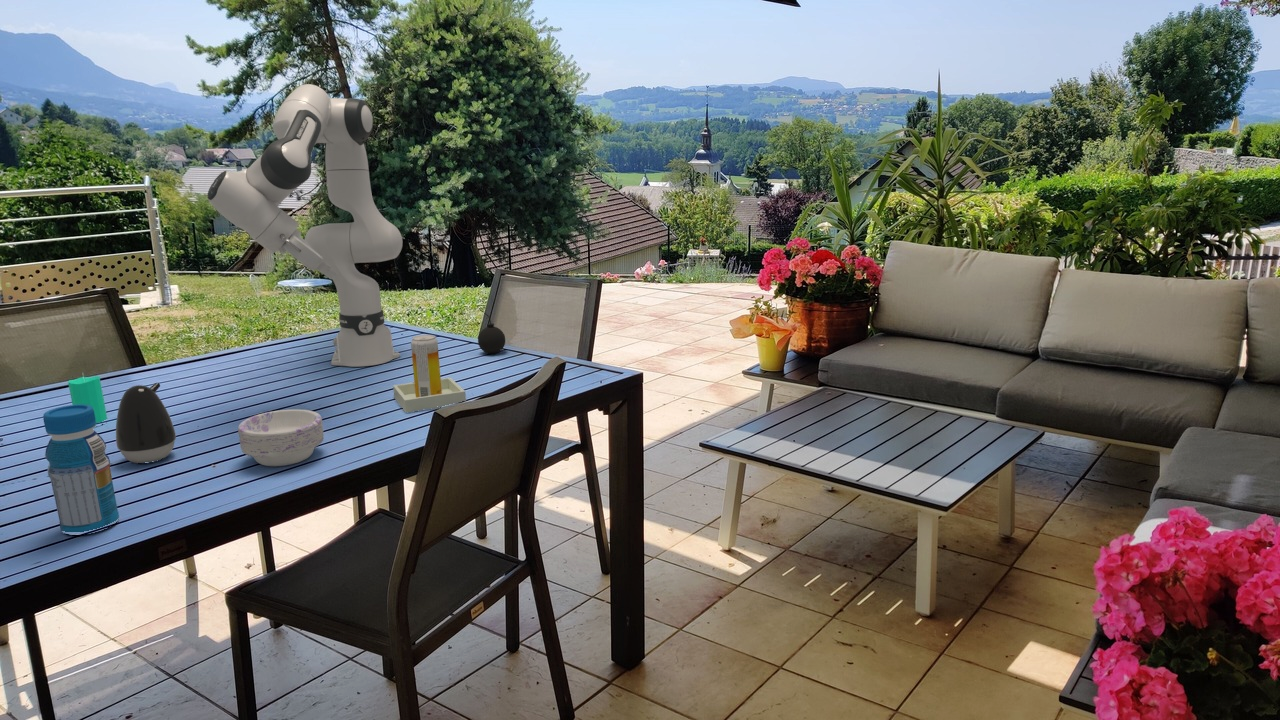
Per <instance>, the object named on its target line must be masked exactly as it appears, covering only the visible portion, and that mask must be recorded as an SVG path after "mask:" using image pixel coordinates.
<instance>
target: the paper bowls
mask: <svg viewBox="0 0 1280 720" xmlns="http://www.w3.org/2000/svg"><path fill="white" fill-rule="evenodd" d="M237 430H238V431H237V432H238V433H237V434H238V437H239V444H240V450H241V453H243V454H245V455H247V456H249V457H253V459H254V460H255V461H256V462H257V463H258V464H260V465H262V466H265V467H284V466H290V465H295V464H298V463H300V462H303V461H305V460H307V459H309V457H311V456H312V455H313V453H314V450H315V448H316V447H318V446H319V445H320V444H322V443H323V441H324V427H323V418H322V416H321V414H320V413H319V412H316V411H313V410H309V409H282V410H280V409H279V410H274V411H268V412H263V413H260V414H255V415H253V416H250V417H248V418H246V419H244V420H243V421H241V422H240V423H239V425H238V428H237Z"/></svg>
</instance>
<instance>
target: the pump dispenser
mask: <svg viewBox="0 0 1280 720" xmlns="http://www.w3.org/2000/svg"><path fill="white" fill-rule="evenodd" d="M160 387H161V384H160V383H159V382H155V383H154V384H152V385H151V386H150V387H148V386H146V385H143V384H141V385H140V384H138V385H137V384H136V385H133V386H131V387H129V388H127V389H126V390H125V392H124V393H123V395H122V397H121V399H120V402H119V405H118V408H117V413H116V414H117V415H116V423H115V444H116V447H117V449H118V450H119V451H120V453H121V455H122V456H123V457H124V458H125V460H127V461H129V462H131V463H134V464H138V463H145V462H152V461H157V460H159V461H161V460H160V459H162V458H163V459H165V458H166V457H168V456H169V455H170V454H171V453H172V450H173V449H174V447H175V440H176V439H177V435H176V430H175V426H174V425H173V421H172V418H171V416H170V414H169V412H168V410H167V407H166V406H165V404H164V403H163V401H162V399H161V398H160V397H159V396H158V394H157V393H156V392H157V391H158V389H159V388H160ZM163 459H162V460H163ZM157 462H158V461H157Z"/></svg>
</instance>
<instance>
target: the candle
mask: <svg viewBox="0 0 1280 720" xmlns="http://www.w3.org/2000/svg"><path fill="white" fill-rule="evenodd" d="M67 384H68V388H69V393H70V398H71V403H72V404H71V405H80V404H83V405H90V406H92V407H93V410H94V414H95V419H96V423H99V422H102V421H104V420H106V419H108V415H107V408H106V404H105V399H104V394H103V393H104V392H103V389H102V388H103V387H102V383H101V377H100V376H97V375H95V376H91V377H87V376H84V372H82V377H78V378H75V379H69V380H68V383H67Z"/></svg>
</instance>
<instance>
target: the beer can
mask: <svg viewBox="0 0 1280 720" xmlns="http://www.w3.org/2000/svg"><path fill="white" fill-rule="evenodd" d="M438 343H439V341H438V340H437V337H436V336H435V335H433V334H420V335H416V336H413V337H412V338H411V341H410V347H411V358H412V369H413V379H414V380H413V381H414V382H413V383H415V394H416V398H417V397H424V396H431V395H438V394H442V389H441V379H442V378H441V366H440V356H439V355H440V354H439V344H438Z"/></svg>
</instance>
